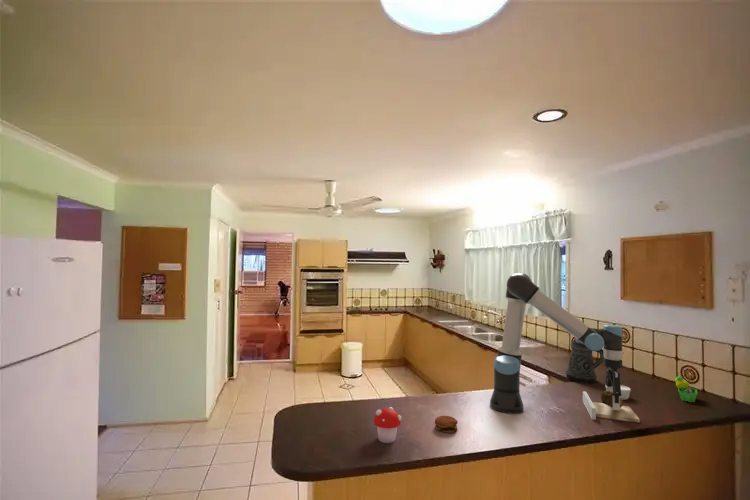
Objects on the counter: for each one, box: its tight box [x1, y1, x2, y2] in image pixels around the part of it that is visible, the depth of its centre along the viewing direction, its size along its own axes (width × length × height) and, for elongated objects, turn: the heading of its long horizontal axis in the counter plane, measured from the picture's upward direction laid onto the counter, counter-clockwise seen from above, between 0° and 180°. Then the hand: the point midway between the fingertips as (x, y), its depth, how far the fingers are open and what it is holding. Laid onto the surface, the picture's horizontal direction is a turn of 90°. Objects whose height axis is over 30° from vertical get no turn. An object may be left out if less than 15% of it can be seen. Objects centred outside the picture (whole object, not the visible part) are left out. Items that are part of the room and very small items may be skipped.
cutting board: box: [592, 401, 641, 423], centre depth 179 cm, size 17×16×2 cm
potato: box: [600, 390, 624, 408], centre depth 179 cm, size 8×13×8 cm, turn 105°
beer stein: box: [565, 339, 605, 384], centre depth 232 cm, size 16×19×25 cm
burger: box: [434, 415, 459, 434], centre depth 159 cm, size 10×9×5 cm
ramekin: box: [604, 384, 632, 401], centre depth 202 cm, size 11×11×5 cm
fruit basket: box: [674, 376, 698, 403], centre depth 200 cm, size 11×9×11 cm
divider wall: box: [582, 391, 597, 421], centre depth 183 cm, size 2×24×5 cm, turn 160°
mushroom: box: [373, 406, 402, 444], centre depth 149 cm, size 11×11×12 cm
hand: (612, 405), depth 180 cm, fingers open, 12 cm apart
